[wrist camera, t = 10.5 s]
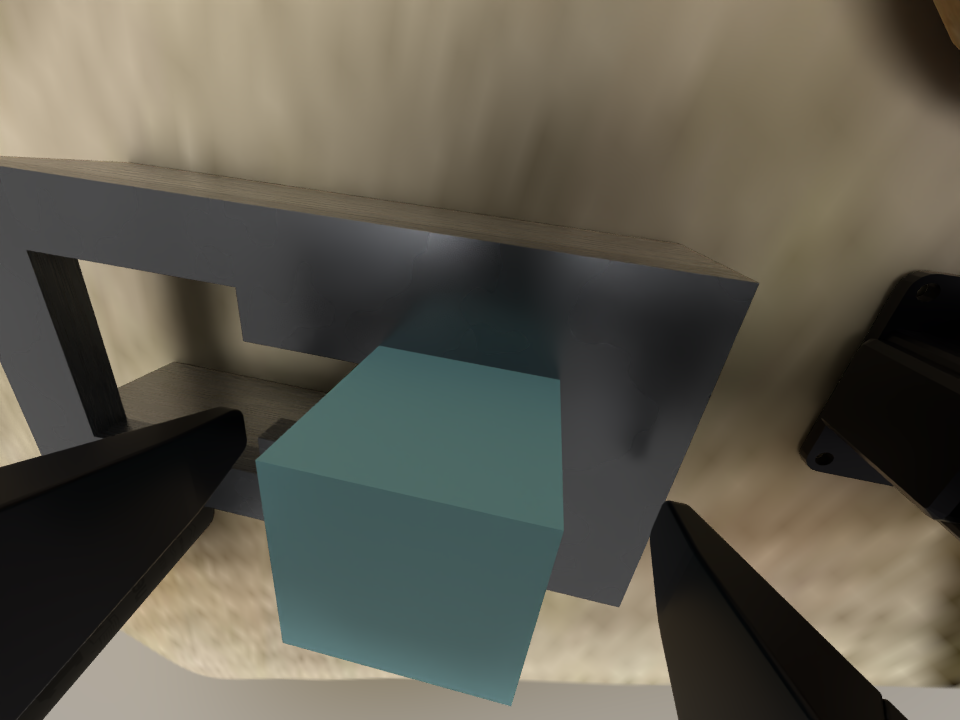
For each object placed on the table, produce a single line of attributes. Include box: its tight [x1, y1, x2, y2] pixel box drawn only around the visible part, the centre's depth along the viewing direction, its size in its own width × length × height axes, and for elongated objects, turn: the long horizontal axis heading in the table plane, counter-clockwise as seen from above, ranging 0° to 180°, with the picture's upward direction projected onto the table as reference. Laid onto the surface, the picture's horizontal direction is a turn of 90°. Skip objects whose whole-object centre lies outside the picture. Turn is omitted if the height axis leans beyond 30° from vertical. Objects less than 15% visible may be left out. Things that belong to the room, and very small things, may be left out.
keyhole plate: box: [0, 156, 759, 607], centre depth 12 cm, size 18×9×5 cm, turn 83°
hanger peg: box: [255, 346, 564, 706], centre depth 9 cm, size 4×4×8 cm
